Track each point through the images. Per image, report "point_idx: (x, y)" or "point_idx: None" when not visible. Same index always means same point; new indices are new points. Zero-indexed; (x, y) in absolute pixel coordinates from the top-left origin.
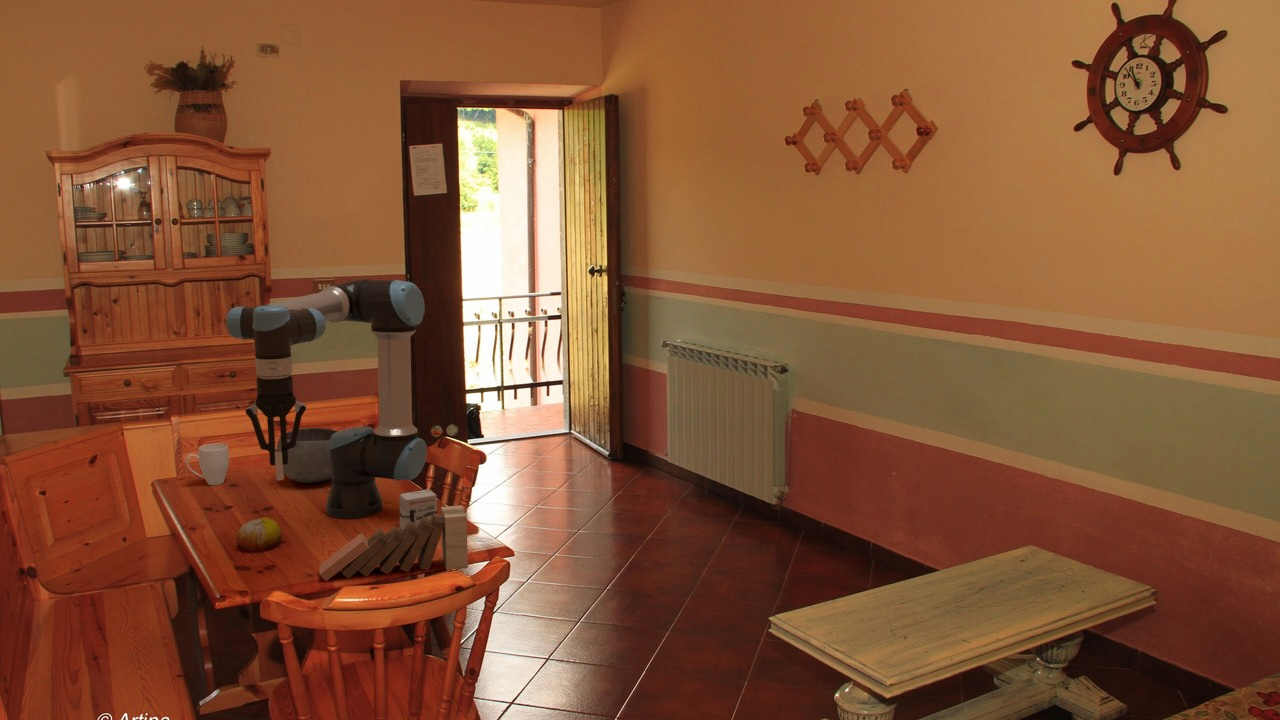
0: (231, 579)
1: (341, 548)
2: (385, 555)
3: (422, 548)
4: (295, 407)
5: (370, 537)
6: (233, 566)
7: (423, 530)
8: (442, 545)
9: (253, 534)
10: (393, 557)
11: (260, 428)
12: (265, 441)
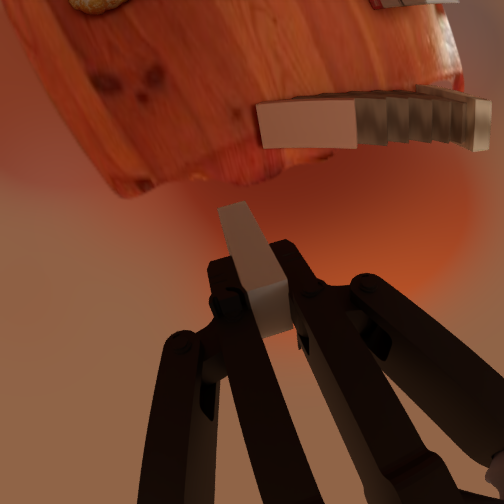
0: (105, 135)
1: (305, 102)
2: None
3: None
4: (501, 490)
5: (362, 102)
6: (87, 79)
7: (439, 140)
8: (430, 90)
9: (97, 2)
10: None
11: (206, 485)
12: (201, 368)
